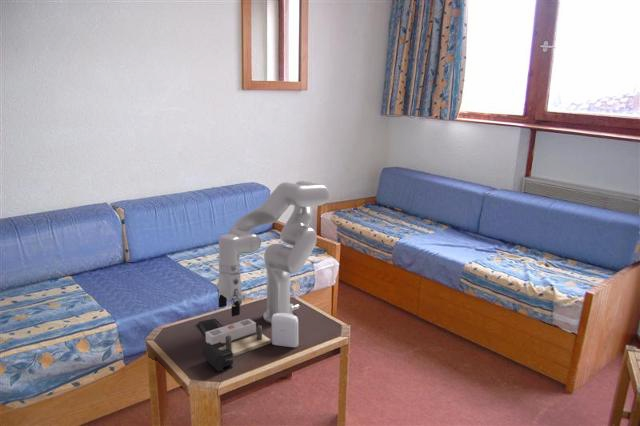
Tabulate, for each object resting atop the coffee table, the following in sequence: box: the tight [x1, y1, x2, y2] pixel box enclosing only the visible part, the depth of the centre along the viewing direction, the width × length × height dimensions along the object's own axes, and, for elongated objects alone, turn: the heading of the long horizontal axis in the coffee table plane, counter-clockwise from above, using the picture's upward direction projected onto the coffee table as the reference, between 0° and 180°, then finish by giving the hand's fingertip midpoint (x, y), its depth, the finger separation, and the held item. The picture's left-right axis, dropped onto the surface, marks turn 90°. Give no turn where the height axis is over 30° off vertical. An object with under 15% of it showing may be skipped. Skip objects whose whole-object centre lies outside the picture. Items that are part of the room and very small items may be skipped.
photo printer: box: [271, 313, 299, 348], centre depth 186 cm, size 10×4×12 cm, turn 76°
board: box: [219, 324, 272, 360], centre depth 184 cm, size 19×7×6 cm, turn 129°
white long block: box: [205, 318, 257, 345], centre depth 191 cm, size 19×5×4 cm, turn 130°
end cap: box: [200, 342, 234, 373], centre depth 171 cm, size 10×7×7 cm
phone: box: [197, 318, 223, 337], centre depth 197 cm, size 8×1×15 cm
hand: (229, 311), depth 189 cm, fingers open, 9 cm apart
